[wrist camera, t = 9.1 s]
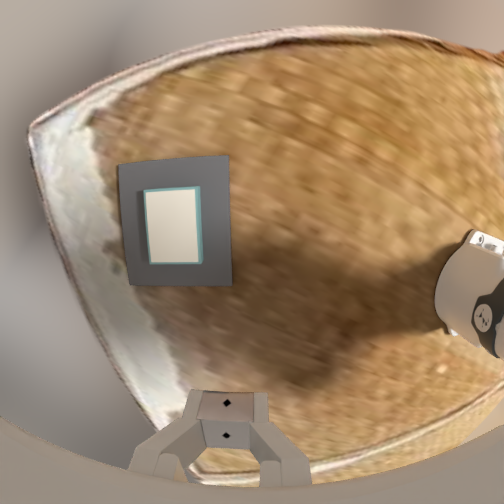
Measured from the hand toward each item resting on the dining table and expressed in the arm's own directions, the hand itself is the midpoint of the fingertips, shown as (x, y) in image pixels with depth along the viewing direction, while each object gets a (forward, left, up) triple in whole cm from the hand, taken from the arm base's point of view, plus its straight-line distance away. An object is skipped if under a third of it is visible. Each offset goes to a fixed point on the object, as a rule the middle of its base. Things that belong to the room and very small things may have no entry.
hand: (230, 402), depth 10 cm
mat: (+9, -3, -26) cm, 27 cm away
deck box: (+5, -3, -24) cm, 25 cm away
